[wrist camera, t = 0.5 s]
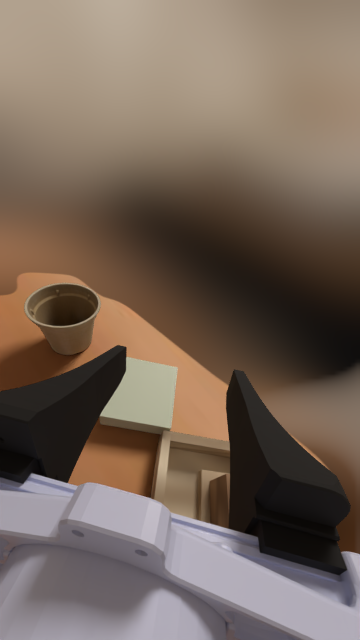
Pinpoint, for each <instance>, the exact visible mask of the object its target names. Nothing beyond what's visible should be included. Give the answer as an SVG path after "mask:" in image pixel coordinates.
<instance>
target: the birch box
mask: <svg viewBox="0 0 360 640" xmlns="http://www.w3.org/2000/svg"><path fill="white" fill-rule="evenodd" d="M224 474H230V442H228V441H223V440H217V439H211V438H206V437H200V436H194V435H189V434H183V433H177V432H172V431H166V430H163V432H162V434H161V435H160V437H159V441H158V447H157V454H156V461H155V468H154V475H153V482H152V489H151V496H150V498H151V499H154V500H156V501H158V502H161V503H162V504H163V505H164V506H166V507H167V508H168V509H169V511H170V512H171V513H174V514H178V515H181V516H185V517H188V518H192V519H196V520H199V521H203V522H206V523H210V481H211V480H213V479H215V478H218V477H220V476H222V475H224Z"/></svg>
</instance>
